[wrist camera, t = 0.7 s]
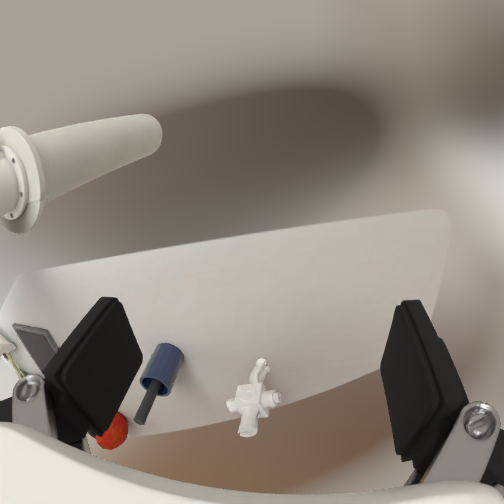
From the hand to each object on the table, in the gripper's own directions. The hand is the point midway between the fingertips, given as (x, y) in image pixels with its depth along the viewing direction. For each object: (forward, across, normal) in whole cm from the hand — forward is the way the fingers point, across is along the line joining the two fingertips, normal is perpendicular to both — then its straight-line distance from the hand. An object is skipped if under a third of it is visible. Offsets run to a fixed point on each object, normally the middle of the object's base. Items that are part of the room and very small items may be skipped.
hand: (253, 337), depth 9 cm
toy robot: (+23, +4, +28) cm, 36 cm away
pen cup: (+23, +18, +26) cm, 39 cm away
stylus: (+22, +18, +26) cm, 39 cm away
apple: (+23, +41, +54) cm, 71 cm away
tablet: (+23, +54, +36) cm, 69 cm away
